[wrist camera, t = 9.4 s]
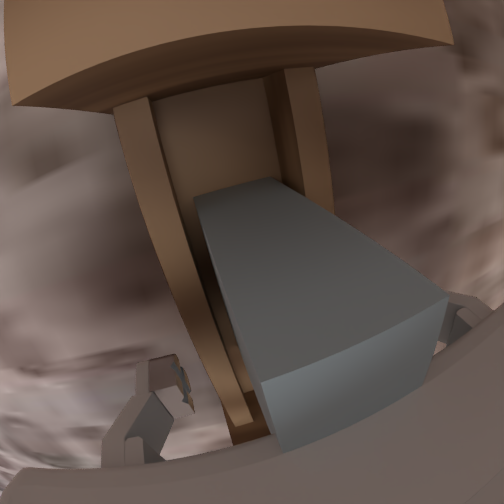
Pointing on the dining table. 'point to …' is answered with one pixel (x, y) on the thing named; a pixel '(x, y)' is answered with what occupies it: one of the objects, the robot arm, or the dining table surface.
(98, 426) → the dining table surface
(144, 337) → the dining table surface
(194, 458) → the robot arm
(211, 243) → the door panel
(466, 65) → the dining table surface
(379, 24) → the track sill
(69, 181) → the dining table surface
